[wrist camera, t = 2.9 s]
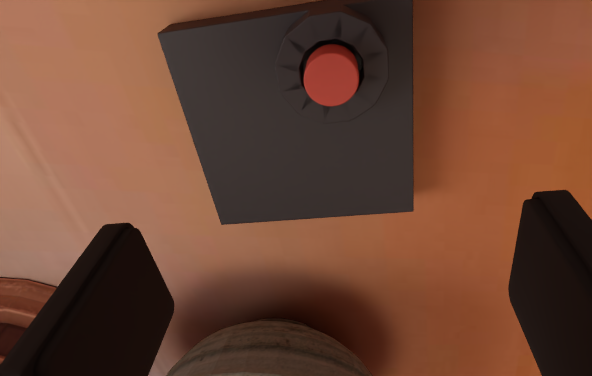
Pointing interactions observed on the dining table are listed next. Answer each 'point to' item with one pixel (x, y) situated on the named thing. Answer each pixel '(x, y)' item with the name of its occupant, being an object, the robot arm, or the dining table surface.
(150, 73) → the dining table surface
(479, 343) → the dining table surface
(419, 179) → the dining table surface
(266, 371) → the bowl
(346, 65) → the tare button
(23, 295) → the mug
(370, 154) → the black button base
